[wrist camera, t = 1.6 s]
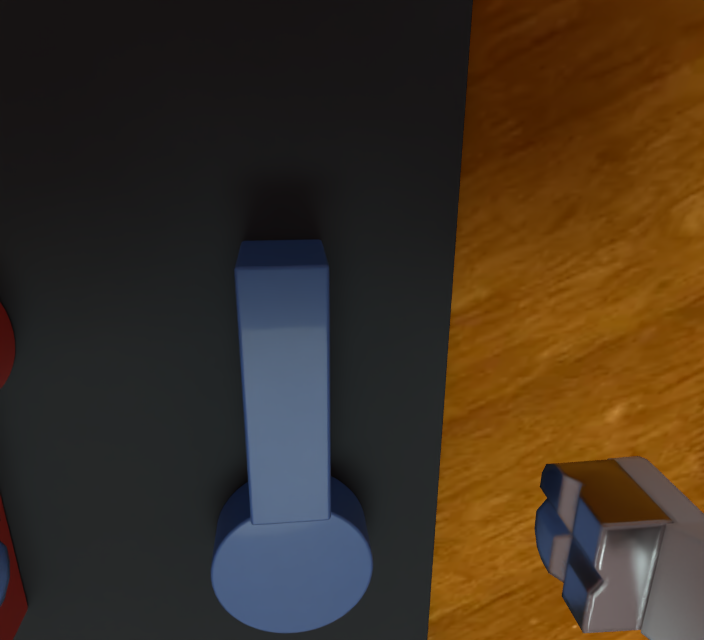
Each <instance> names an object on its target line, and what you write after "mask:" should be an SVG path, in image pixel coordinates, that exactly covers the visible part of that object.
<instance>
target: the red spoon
mask: <svg viewBox="0 0 704 640" xmlns="http://www.w3.org/2000/svg"><path fill="white" fill-rule="evenodd" d="M14 357H15V339H14V332H13V329H12V325H11V322H10V320H9V317H8V315H7V313H6V311H5V309H4V307H3V306H2V304H1V302H0V389H1V388H2V386H3V385H4V384H5V382H6V381H7V379H8V377H9V375H10V372H11V370H12V367H13V363H14ZM0 520H1V521H0V541H1V542H2V543H3V544H5V545H6V546H7V550H8V554H9V559H10V579H9V584H8V588H7V592H6V596H5V600H4V601H3V603H2V605H1V607H0V640H13V639H14V637H15V635H16V632H17V630H18V628H19V626H20V624H21V622H22V620H23V618H24V616H25V614H26V612H27V610H28V605H27V601H26V597H25V593H24V589H23V585H22V581H21V577H20V572H19V568H18V564H17V560H16V556H15V552H14V548H13V544H12V540H11V536H10V532H9V528H8V524H7V520H6V516H5V512H4V508H3V504H2V499H1V495H0Z"/></svg>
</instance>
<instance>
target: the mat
mask: <svg viewBox="0 0 704 640" xmlns="http://www.w3.org/2000/svg"><path fill="white" fill-rule="evenodd" d="M472 5H473V0H0V302H1V304H2V306H3V307H4V309H5V311H6V313H7V315H8V317H9V320H10V322H11V325H12V329H13V332H14V339H15V357H14V363H13V367H12V370H11V372H10V375H9V377H8V379H7V381H6V382H5V384H4V385H3V386H2V388H1V389H0V495H1V499H2V504H3V508H4V512H5V516H6V520H7V524H8V528H9V532H10V536H11V540H12V544H13V548H14V552H15V556H16V560H17V564H18V568H19V572H20V577H21V581H22V585H23V589H24V593H25V597H26V601H27V605H28V610H27V612H26V614H25V616H24V618H23V620H22V622H21V624H20V626H19V628H18V630H17V632H16V635H15V637H14V639H13V640H427V634H428V620H429V606H430V592H431V578H432V564H433V550H434V536H435V522H436V508H437V494H438V480H439V466H440V452H441V438H442V424H443V410H444V396H445V382H446V368H447V354H448V340H449V326H450V312H451V298H452V284H453V270H454V256H455V242H456V228H457V214H458V200H459V186H460V172H461V158H462V144H463V130H464V116H465V102H466V88H467V74H468V60H469V46H470V32H471V18H472ZM318 239H319V240H321V241H322V244H323V247H324V251H325V254H326V258H327V261H328V265H329V276H330V439H331V476H332V477H334V478H336V479H337V480H339V481H340V482H342V483H343V484H344V485H346V486H347V487H348V488H349V489H350V490H351V491H352V492H353V493H354V495H355V496H356V497H357V499H358V501H359V502H360V504H361V507H362V509H363V512H364V516H365V521H366V526H367V531H368V536H369V541H370V546H371V551H372V556H373V571H372V576H371V580H370V583H369V585H368V587H367V590H366V592H365V593H364V595H363V596H362V598H361V599H360V600H359V602H358V603H357V604H356V605H355V606H354V607H353V608H352V609H351V610H350V611H349V612H347V613H346V614H345V615H344V616H342V617H341V618H339V619H337V620H336V621H334V622H332V623H330V624H328V625H325V626H323V627H320V628H317V629H314V630H310V631H305V632H298V633H274V632H267V631H263V630H259V629H256V628H253V627H251V626H248V625H246V624H244V623H242V622H240V621H239V620H237V619H236V618H234V617H233V616H232V615H231V614H229V613H228V612H227V611H226V610H225V609H224V607H223V606H222V605H221V604H220V602H219V600H218V598H217V597H216V595H215V592H214V590H213V587H212V582H211V563H212V556H213V549H214V542H215V535H216V529H217V522H218V519H219V515H220V513H221V511H222V509H223V507H224V505H225V503H226V502H227V501H228V499H229V498H230V497H231V496H232V495H233V494H234V493H235V491H236V490H238V489H239V488H240V487H241V486H242V485H244V484H245V483H247V482H248V473H247V458H246V443H245V428H244V413H243V397H242V382H241V367H240V352H239V337H238V321H237V306H236V291H235V276H234V269H235V265H236V261H237V257H238V253H239V249H240V246H241V243H242V242H243V241H264V240H318Z"/></svg>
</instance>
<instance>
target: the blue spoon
mask: <svg viewBox="0 0 704 640" xmlns="http://www.w3.org/2000/svg"><path fill="white" fill-rule="evenodd" d="M234 276H235V291H236V306H237V321H238V337H239V352H240V367H241V382H242V397H243V413H244V428H245V443H246V458H247V473H248V482H247V483H245V484H244V485H242V486H241V487H240V488H239V489H238V490H236V491H235V493H234V494H233V495H232V496H231V497H230V498H229V499H228V501H227V502H226V503H225V505H224V507H223V509H222V511H221V513H220V515H219V519H218V522H217V529H216V535H215V542H214V549H213V556H212V563H211V582H212V587H213V590H214V592H215V595H216V597H217V598H218V600H219V602H220V604H221V605H222V606H223V607H224V609H225V610H226V611H227V612H228V613H229V614H231V615H232V616H233V617H234V618H236V619H237V620H239V621H240V622H242V623H244V624H246V625H248V626H251V627H253V628H256V629H259V630H263V631H267V632H274V633H298V632H305V631H310V630H314V629H317V628H320V627H323V626H325V625H328V624H330V623H332V622H334V621H336V620H337V619H339V618H341V617H342V616H344V615H345V614H346V613H347V612H349V611H350V610H351V609H352V608H353V607H354V606H355V605H356V604H357V603H358V602H359V600H360V599H361V598H362V596H363V595H364V593H365V592H366V590H367V587H368V585H369V583H370V580H371V576H372V571H373V556H372V551H371V546H370V541H369V536H368V531H367V526H366V521H365V516H364V512H363V509H362V507H361V504H360V502H359V501H358V499H357V497H356V496H355V495H354V493H353V492H352V491H351V490H350V489H349V488H348V487H347V486H346V485H344V484H343V483H342V482H340V481H339V480H337V479H336V478H334V477H332V476H331V439H330V276H329V265H328V261H327V258H326V254H325V251H324V247H323V244H322V241H321V240H319V239H318V240H264V241H243V242H242V243H241V246H240V249H239V253H238V257H237V261H236V265H235V269H234Z"/></svg>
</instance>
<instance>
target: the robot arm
mask: <svg viewBox="0 0 704 640" xmlns="http://www.w3.org/2000/svg"><path fill="white" fill-rule="evenodd" d="M540 488H541V489H542V491H543V492H544V494H545V495H546V497H547V499H546V500H545V502H544V503H543V504H542V505H541V506H540V507H539V508H538V509H537V511H536V520H535V535H536V543H537V548H538V551H539V554H540V557H541V560H542V562H543V564H544V565H545V567H546V569H547V571H548V573H550V574H551V575H553V576H554V577H556V578H557V579H559V580H560V581H562V582H563V583H564V586H563V592H562V597H563V599H564V601H565V602H566V604H567V606H568V607H569V609H570V611H571V613H572V614H573V616H574V618H575V620H576V621H577V623H578V625H579V626H580V628H581V630H582V632H583V633H594V632H610V631H627V630H641V633H642V634H643V635H645V636H646V637H647V638H648V639H650V640H704V514H703V513H702V512H701V511H700V510H699V509H698V508H697V507H696V506H695V505H694V504H693V503H692V502H691V501H690V500H689V499H688V498H687V497H686V496H685V495H684V494H683V493H682V492H681V491H679V490H678V489H677V488H676V487H675V486H674V485H673V484H672V483H671V482H670V481H669V480H668V479H667V478H666V477H665V476H664V475H663V474H662V473H661V472H660V471H659V470H658V469H657V468H656V467H654V466H653V465H652V464H651V463H650V462H649V461H648V460H647V459H645V458H642V457H640V456H633V457H622V458H611V459H607V460H595V461H581V462H567V463H553V464H546V466H545V468H544V470H543V472H542V476H541V483H540ZM0 521H1V520H0ZM9 579H10V559H9V554H8V550H7V546H6V545H5V544H3V543H2V542H1V541H0V607H1V605H2V603H3V601H4V600H5V596H6V592H7V588H8V584H9Z"/></svg>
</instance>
